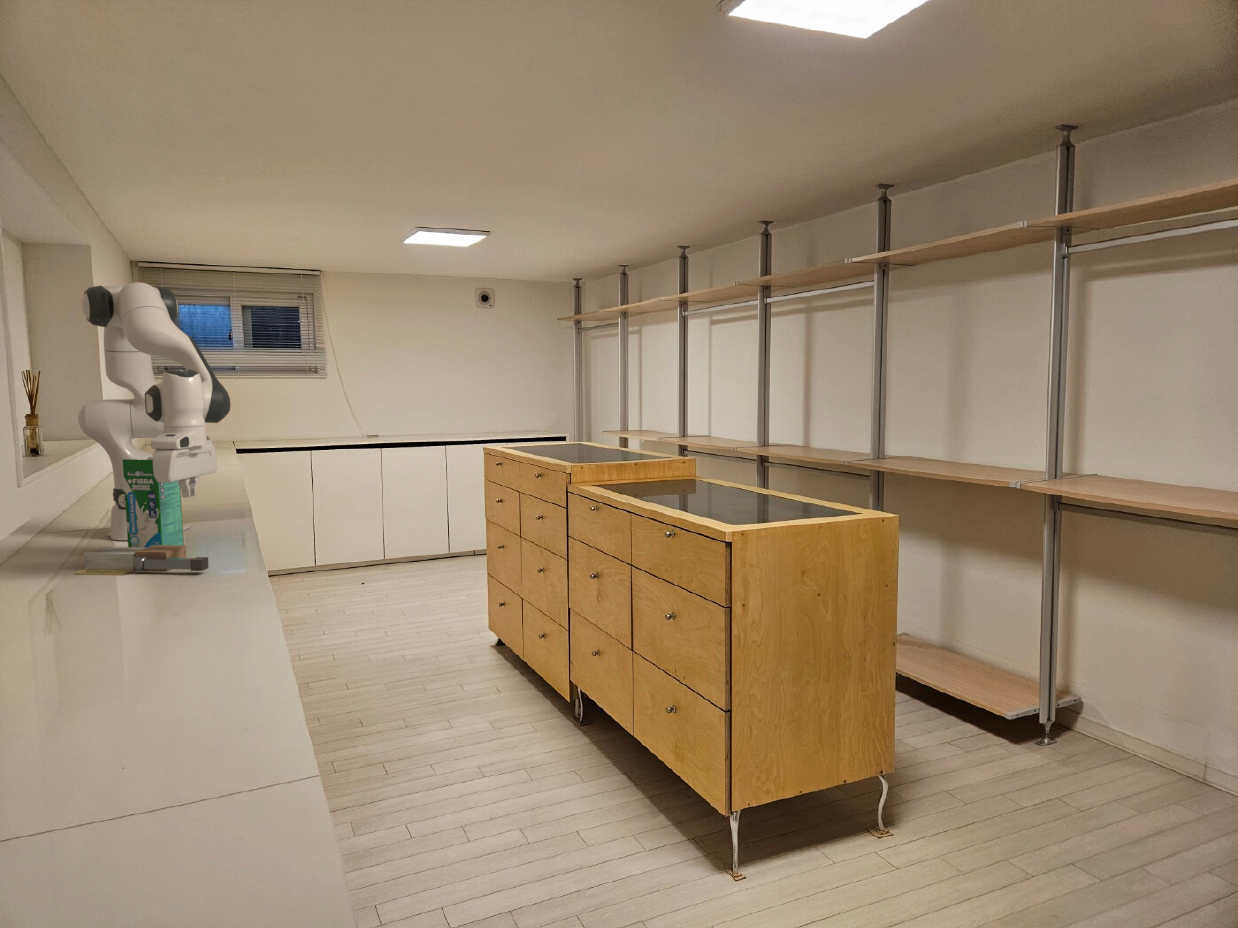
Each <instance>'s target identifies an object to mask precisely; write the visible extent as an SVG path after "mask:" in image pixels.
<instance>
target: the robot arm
mask: <svg viewBox="0 0 1238 928" xmlns="http://www.w3.org/2000/svg"><path fill="white" fill-rule="evenodd" d="M81 309H82V313H83V314H84V316H85V318H86V321H88V322H89V323H90V324H91V325H92V326H95V327H102V328H103V352H104V354H103V355H104V365H105V374H106V375H105V376H106V377H107V378H108V380H109V382H111V383H113V384H114V385H116V386H118V387H121V388H123V389H125V390H128V391H130V392H131V393H132V395H133V396H134V398H130V399H128V398H127V399H123V398H122V399H101V400H95V401H91V402H90V401H89V402H86V403H85V404H84V405H82V406H81V409H80V411H79V413H78V415H77V416H78V417H77V421H78V424H79V428H80V429H81V431H82V432H83V434H85V435H86V436H87V437H88V438H90V439H92V440H94V441H95V442H97V443H98V444H99V445H100V446H101V447H102V448H103V450H104V451H105V452H106V454H107V455H108V457H109V460H110V462H111V463H110V464H111V468H112V473H113V480H114V481H113V484H114V485H113V486H114V488H113V489H112V497H113V499H112V500H113V501H114V502H115V503H114V505H113V506H112V507H111V514H110V515H111V517H110V531H108V532H107V537H110V539H112V540H117V541H128V535H127V520H126V505H125V490H124V475H123V459H143V460H147V458H148V457H153V472H154V477H155V479H156V481H157V482H174V481H178V485H179V487H180V490H181V498H192V497H195V496H196V495H197V487H198V485H199V477H200V476H205V475H210V474H215V473H217V470H218V459H217V452H216V448H215V446H214V444H213V441H212V439H211V438H210V437H209V436H208V435H207V424H209V423H210V424H218V423H219V422H221V421H222V420H223V419H224V418H225V417H227V415H228V414H229V413H230V411H231V399H230V395H229V392H228V391H227V389H226V388H225V386H224V385H223V384H222V382H220V381H219V380H218V378H217V376H216V375H215V372H213V370H212V367H211V366H210V364H209V363H208V361H207V360H206V357H205V355H204V353H203V352H202V350H201V349H200V347H199V346H198V344H197V343H196V341H195V340H194V339H193V337H191V336H190V335H188V334H187V333H185V332H184V331H182V330H181V329H180V328H179V327H178V326H177V325H175V323H174V322H175V321H176V320H177V316H178V313H179V312H178V311H179V303H178V301H177V299H176V295H175V293H174V292H172V290H171V289H170V288H167V287H163V286H155V287H154V286H152V285H150V284H149V283H145V282H141V281H140V282H139V281H138V282H137V281H136V282H135V281H134V282H131V283H128V284H125V285H107V286H103V285H96V286H95V285H94V286H91V287H90V286H89V287H88V288H87V289H85V291H84V293H83V296H82V300H81ZM152 356H153V357H156V358H162V359H166V360H168V361H171V362H174V363H176V364H179V365H181V366H183V367H184V368H169V369H167V370H165V371H163V373H162V379H161V381H160V382H159V383H157V381H156V378H155V374H154V369H153V363H152ZM206 423H207V424H206ZM144 438H145V439H149V438H152V439H151V441H150V446H151V449H153V450H154V451H153V453H150V452H148V451H145V450H142V449H140V448H138V447H136V446H134V444H133V443H132V440H134V439H144ZM182 524H183V532H184V531H186V530H188V529H191V524H189V523H183V522H182Z"/></svg>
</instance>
